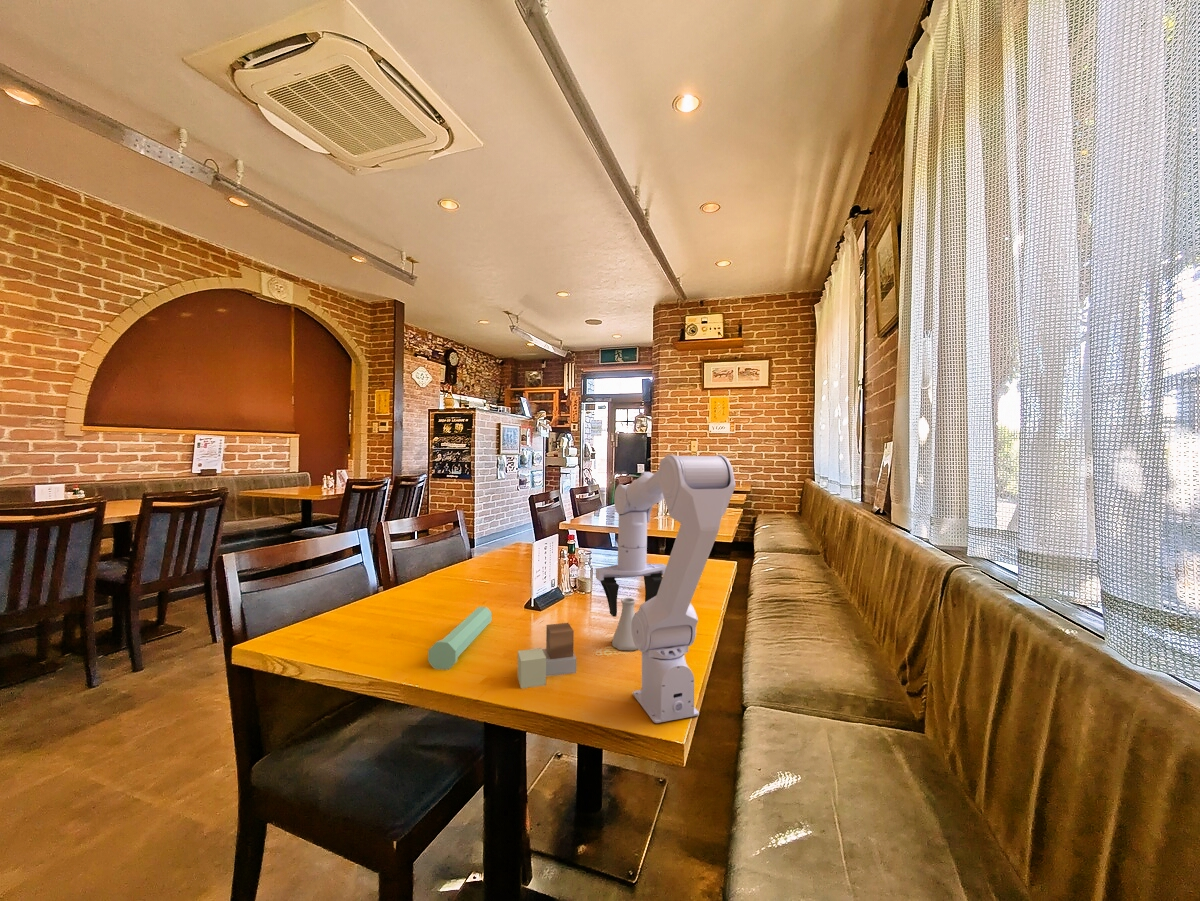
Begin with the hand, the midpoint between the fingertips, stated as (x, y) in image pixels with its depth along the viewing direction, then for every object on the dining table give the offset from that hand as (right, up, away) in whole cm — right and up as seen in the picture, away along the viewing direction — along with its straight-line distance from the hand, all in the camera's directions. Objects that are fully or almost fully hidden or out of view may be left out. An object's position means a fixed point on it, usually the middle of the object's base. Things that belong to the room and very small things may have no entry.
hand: (631, 612), depth 93 cm
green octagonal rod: (-36, -11, +10) cm, 39 cm away
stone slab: (-14, -11, -1) cm, 18 cm away
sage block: (-19, -10, -7) cm, 23 cm away
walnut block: (-14, -8, -1) cm, 16 cm away
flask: (0, -11, +10) cm, 15 cm away
